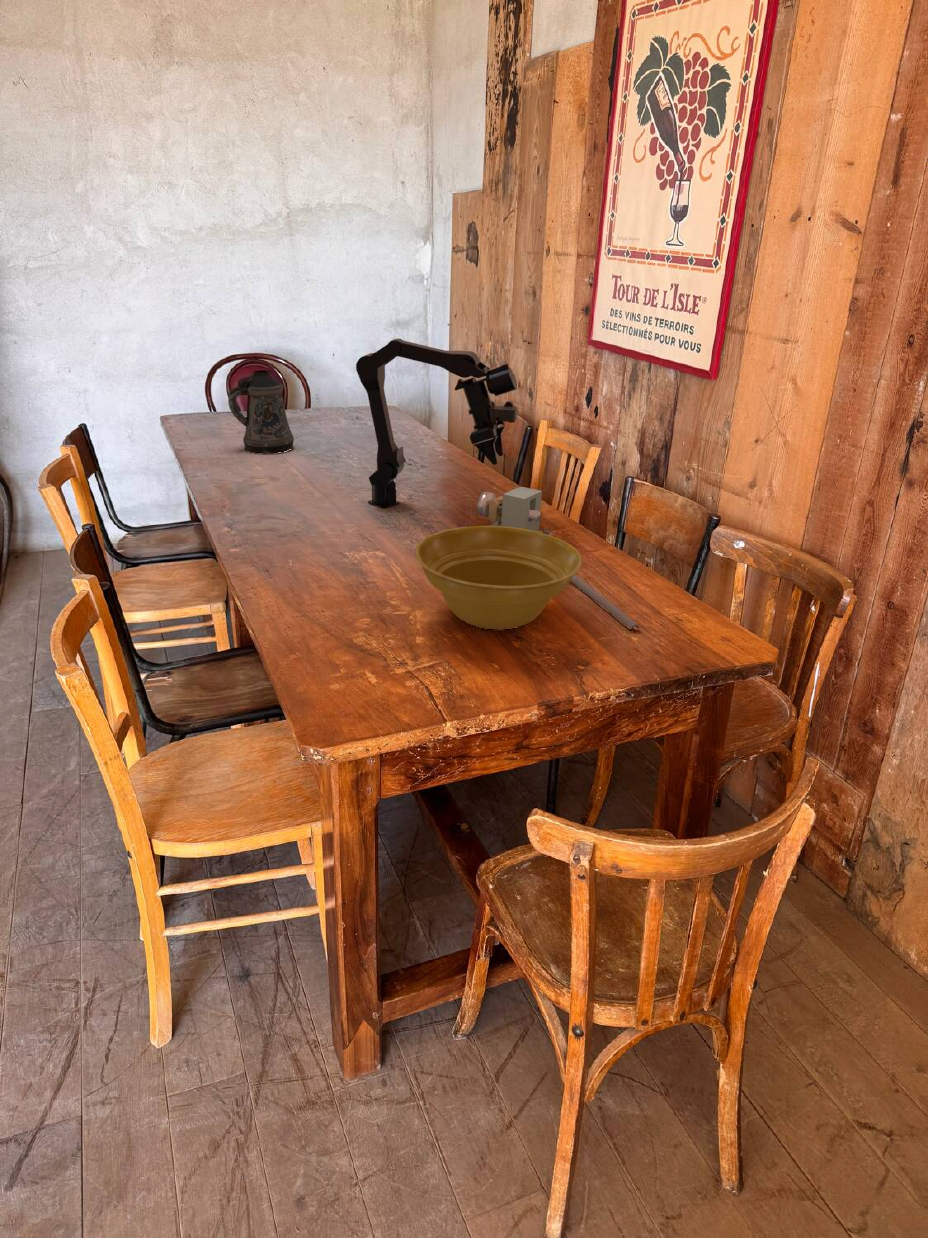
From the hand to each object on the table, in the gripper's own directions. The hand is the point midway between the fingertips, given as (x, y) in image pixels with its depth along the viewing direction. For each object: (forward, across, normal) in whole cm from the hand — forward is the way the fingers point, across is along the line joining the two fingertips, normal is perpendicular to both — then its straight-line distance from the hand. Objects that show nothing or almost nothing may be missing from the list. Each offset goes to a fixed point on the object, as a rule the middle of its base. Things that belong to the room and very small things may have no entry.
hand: (498, 459), depth 219 cm
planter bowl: (+18, -64, -4) cm, 66 cm away
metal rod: (+26, -52, -23) cm, 62 cm away
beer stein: (-17, +45, +85) cm, 98 cm away
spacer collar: (+12, -13, +2) cm, 18 cm away
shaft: (+13, -15, -1) cm, 20 cm away
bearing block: (+17, -16, -3) cm, 24 cm away
